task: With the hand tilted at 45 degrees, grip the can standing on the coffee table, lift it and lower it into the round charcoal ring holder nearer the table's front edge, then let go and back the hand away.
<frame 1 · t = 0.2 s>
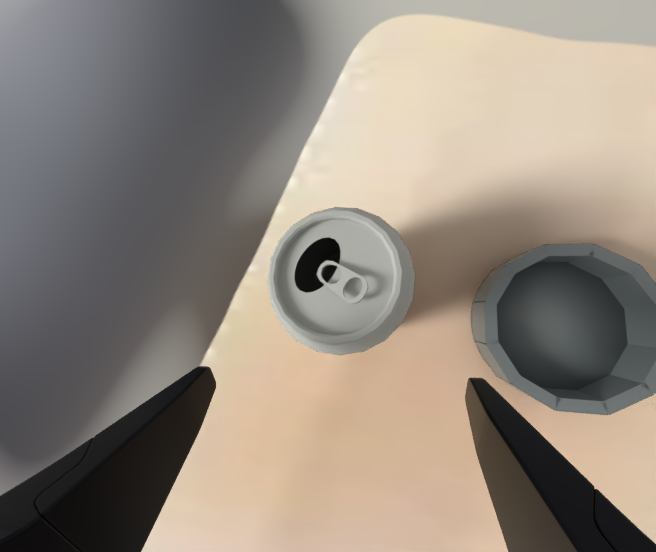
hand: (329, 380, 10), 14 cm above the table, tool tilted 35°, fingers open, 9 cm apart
can: (356, 292, 24), on the table
ring holder: (548, 323, 21), on the table
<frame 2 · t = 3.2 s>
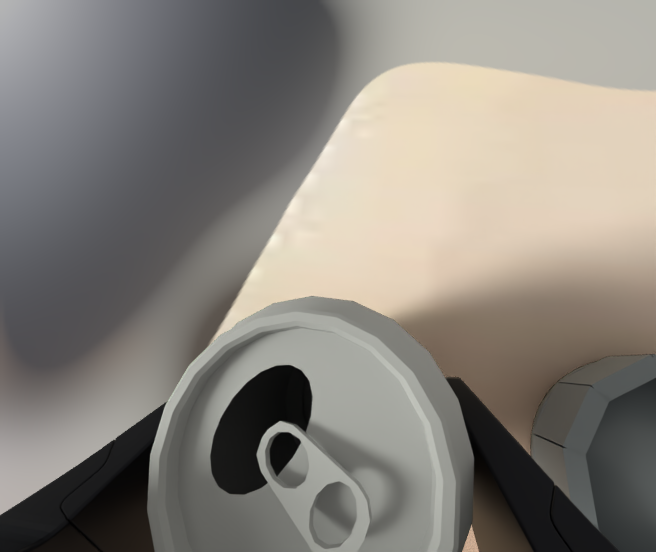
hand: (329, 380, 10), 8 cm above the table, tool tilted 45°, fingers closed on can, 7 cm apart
can: (351, 399, 17), on the table, touching gripper
when the fingers open (9 cm above the table, at t = 7.2 s): can drops 1 cm, resting on ring holder.
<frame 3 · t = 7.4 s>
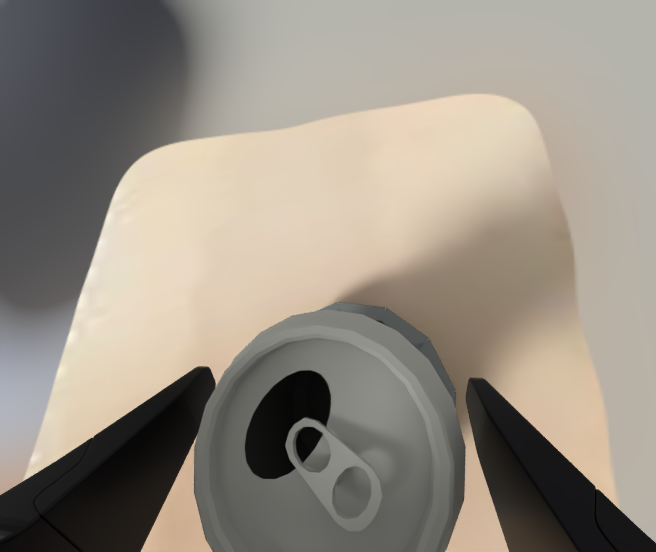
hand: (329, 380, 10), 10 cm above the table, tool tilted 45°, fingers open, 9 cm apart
can: (354, 399, 18), resting on ring holder
ring holder: (354, 395, 18), on the table
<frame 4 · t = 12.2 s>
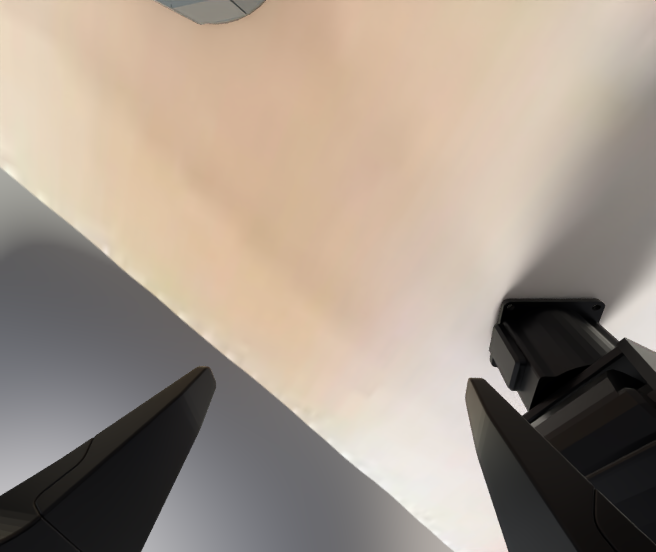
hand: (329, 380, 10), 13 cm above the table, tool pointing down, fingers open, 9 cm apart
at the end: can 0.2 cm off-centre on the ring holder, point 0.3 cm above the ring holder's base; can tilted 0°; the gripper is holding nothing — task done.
